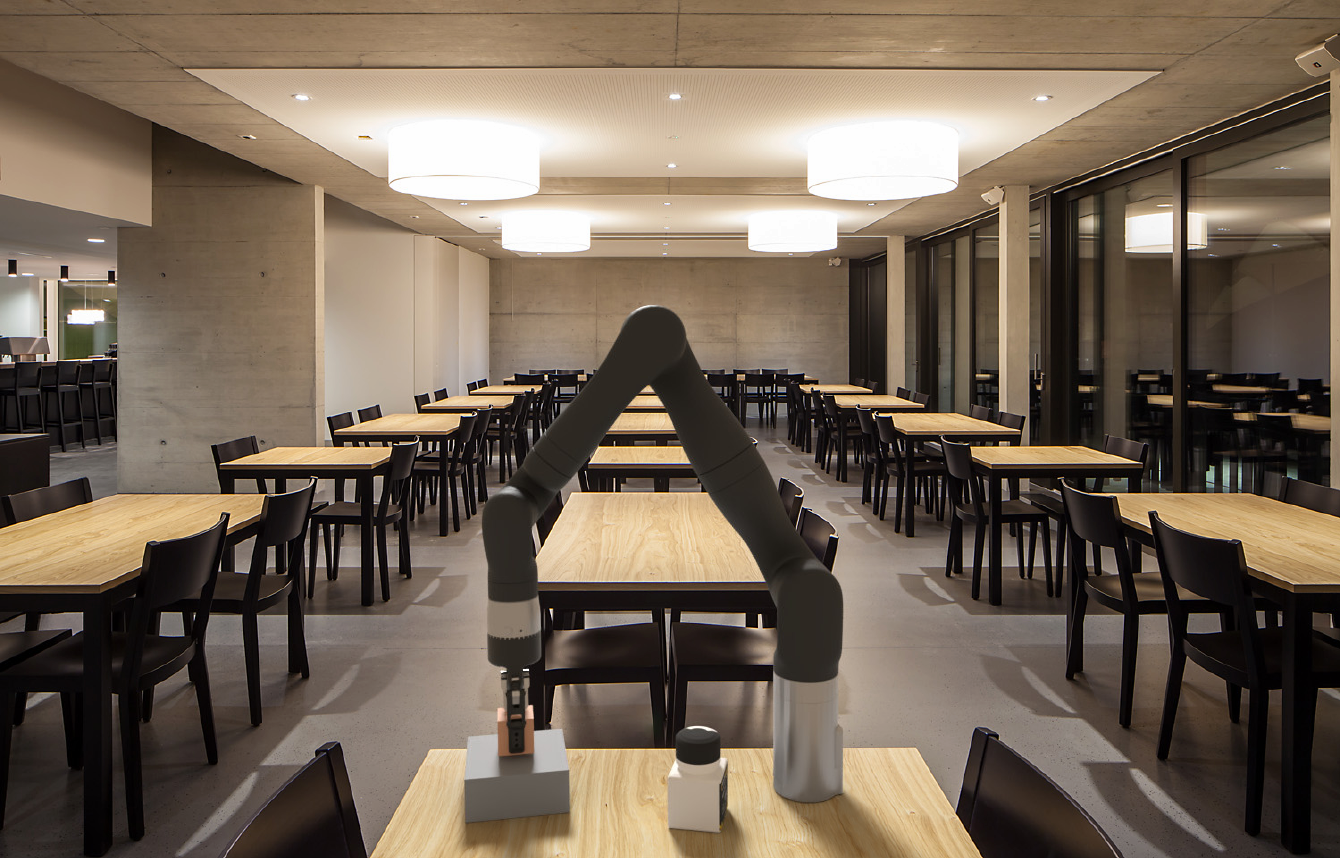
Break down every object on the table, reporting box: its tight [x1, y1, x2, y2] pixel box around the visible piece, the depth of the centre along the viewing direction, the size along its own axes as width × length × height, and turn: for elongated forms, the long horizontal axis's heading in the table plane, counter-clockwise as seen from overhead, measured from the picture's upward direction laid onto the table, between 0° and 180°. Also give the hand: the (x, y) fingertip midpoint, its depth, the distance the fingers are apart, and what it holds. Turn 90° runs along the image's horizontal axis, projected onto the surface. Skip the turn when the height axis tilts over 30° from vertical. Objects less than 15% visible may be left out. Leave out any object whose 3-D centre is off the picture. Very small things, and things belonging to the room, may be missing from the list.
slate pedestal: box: [463, 728, 571, 824], centre depth 125 cm, size 14×14×6 cm
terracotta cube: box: [496, 704, 535, 756], centre depth 125 cm, size 5×5×5 cm
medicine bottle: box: [667, 725, 729, 834], centre depth 118 cm, size 7×7×12 cm
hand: (516, 743), depth 125 cm, fingers closed on terracotta cube, 4 cm apart
